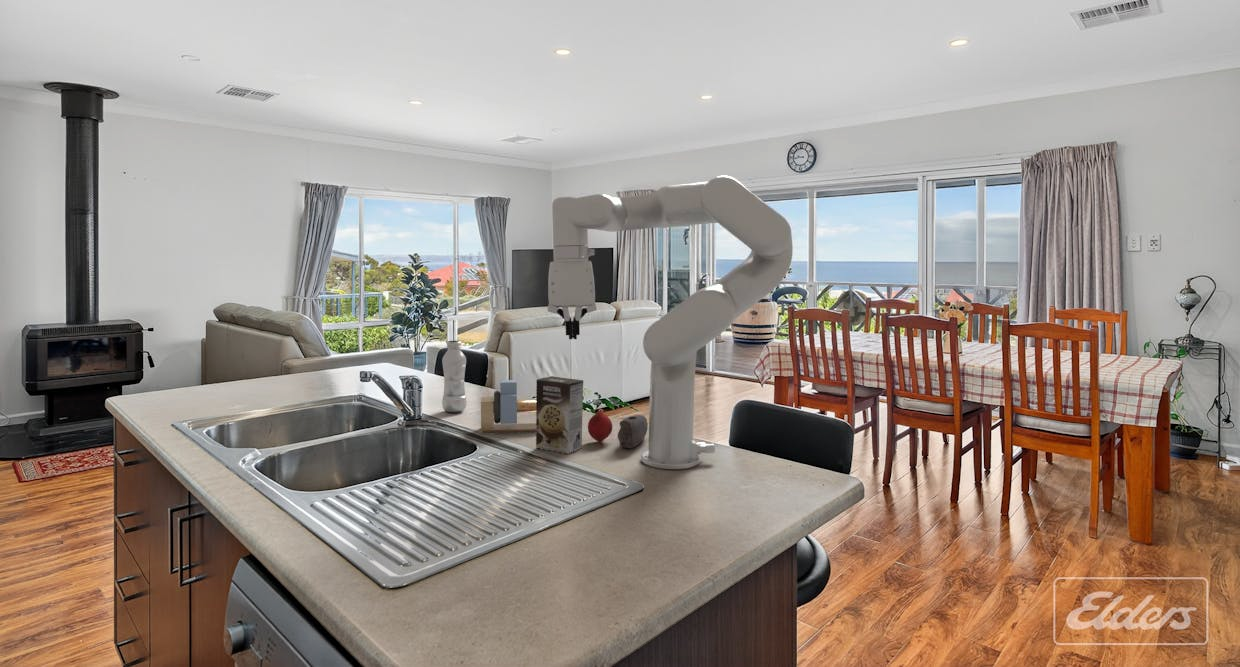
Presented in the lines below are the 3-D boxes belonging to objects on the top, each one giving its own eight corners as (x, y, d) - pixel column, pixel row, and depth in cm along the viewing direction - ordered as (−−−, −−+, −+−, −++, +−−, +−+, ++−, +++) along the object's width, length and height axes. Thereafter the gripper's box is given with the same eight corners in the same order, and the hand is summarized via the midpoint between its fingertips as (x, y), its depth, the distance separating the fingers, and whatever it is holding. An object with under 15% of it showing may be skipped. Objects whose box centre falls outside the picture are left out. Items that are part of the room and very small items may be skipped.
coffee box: (534, 448, 155) (534, 379, 153) (550, 442, 160) (550, 375, 158) (568, 454, 150) (569, 383, 149) (583, 447, 156) (584, 379, 154)
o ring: (500, 418, 174) (500, 388, 173) (500, 425, 167) (500, 394, 166) (494, 418, 174) (494, 388, 173) (493, 426, 166) (493, 394, 165)
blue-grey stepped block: (516, 416, 174) (516, 378, 173) (516, 423, 168) (516, 383, 167) (500, 417, 174) (500, 379, 173) (500, 423, 167) (500, 384, 166)
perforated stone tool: (634, 435, 168) (635, 407, 168) (654, 437, 167) (655, 409, 166) (612, 450, 154) (613, 420, 154) (634, 453, 153) (634, 423, 152)
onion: (601, 447, 157) (601, 413, 156) (582, 442, 160) (582, 409, 160) (616, 441, 162) (617, 409, 161) (598, 437, 165) (598, 405, 164)
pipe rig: (548, 425, 176) (548, 395, 175) (550, 431, 170) (550, 400, 169) (481, 427, 173) (481, 397, 172) (481, 433, 167) (480, 402, 166)
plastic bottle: (440, 410, 191) (439, 340, 189) (464, 408, 194) (463, 339, 192) (444, 415, 186) (443, 343, 183) (469, 413, 188) (468, 342, 186)
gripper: (603, 254, 152) (604, 335, 154) (536, 255, 150) (538, 337, 152) (606, 254, 144) (608, 339, 146) (536, 255, 142) (538, 341, 144)
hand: (572, 338), depth 149 cm, fingers closed
